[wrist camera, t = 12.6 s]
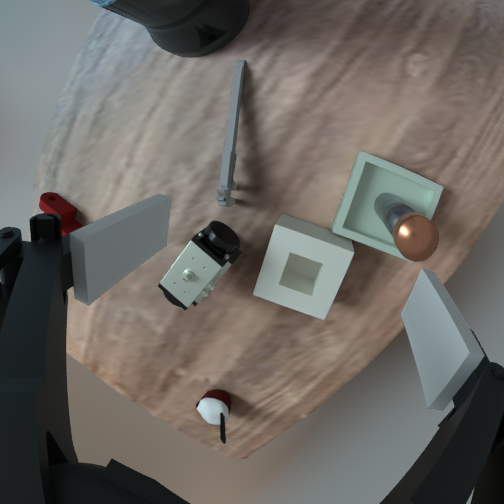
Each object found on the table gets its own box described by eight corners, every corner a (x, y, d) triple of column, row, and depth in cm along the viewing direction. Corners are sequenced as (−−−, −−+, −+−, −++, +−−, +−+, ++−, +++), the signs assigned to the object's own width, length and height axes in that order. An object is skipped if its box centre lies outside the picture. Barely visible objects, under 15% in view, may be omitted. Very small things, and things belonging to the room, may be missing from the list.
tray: (358, 150, 36) (360, 150, 34) (437, 184, 35) (443, 187, 32) (331, 227, 40) (332, 232, 38) (408, 256, 39) (412, 262, 37)
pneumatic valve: (187, 262, 48) (148, 296, 37) (230, 207, 43) (196, 229, 32) (213, 285, 48) (181, 325, 37) (260, 232, 43) (236, 264, 32)
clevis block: (282, 213, 41) (275, 224, 36) (350, 237, 40) (354, 252, 35) (262, 276, 45) (252, 294, 40) (325, 298, 44) (324, 320, 39)
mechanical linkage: (48, 220, 53) (31, 227, 48) (53, 190, 50) (35, 195, 46) (98, 260, 53) (81, 270, 48) (106, 229, 50) (88, 237, 45)
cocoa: (202, 399, 59) (178, 440, 48) (200, 379, 56) (173, 422, 46) (244, 410, 57) (225, 455, 46) (245, 392, 54) (225, 439, 43)
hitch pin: (378, 186, 36) (407, 210, 23) (405, 197, 36) (445, 227, 22) (368, 214, 38) (390, 252, 24) (394, 225, 38) (427, 267, 24)
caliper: (237, 202, 43) (223, 211, 37) (229, 201, 43) (214, 210, 37) (245, 60, 36) (232, 47, 30) (237, 61, 36) (223, 48, 30)
